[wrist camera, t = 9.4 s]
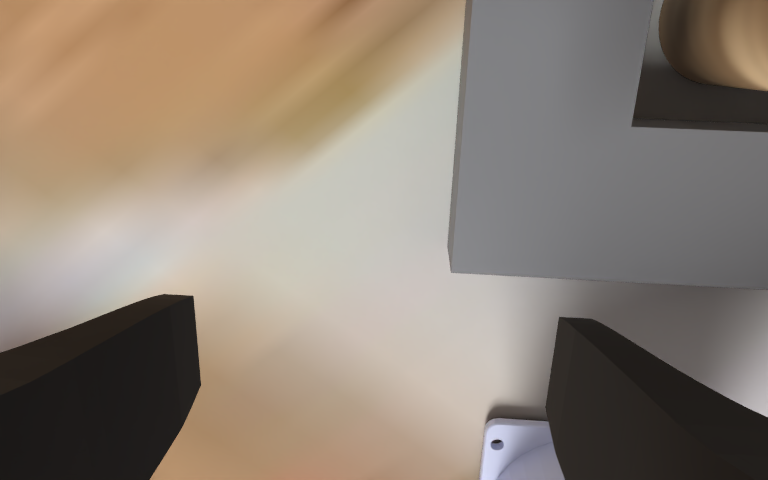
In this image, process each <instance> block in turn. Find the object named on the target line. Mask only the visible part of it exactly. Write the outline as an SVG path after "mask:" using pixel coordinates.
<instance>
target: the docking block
mask: <svg viewBox="0 0 768 480" xmlns="http://www.w3.org/2000/svg"><path fill="white" fill-rule="evenodd" d="M653 1H654V0H466V8H465V21H464V35H463V48H462V61H461V75H460V88H459V101H458V115H457V128H456V141H455V154H454V168H453V181H452V194H451V208H450V221H449V234H448V253H449V260H450V267H451V273H466V274H485V275H503V276H521V277H540V278H558V279H577V280H595V281H613V282H632V283H650V284H669V285H687V286H705V287H724V288H742V289H760V290H768V124H758V123H733V122H709V121H684V120H659V119H634V118H633V114H634V108H635V103H636V97H637V91H638V86H639V80H640V74H641V69H642V63H643V57H644V52H645V46H646V40H647V35H648V29H649V23H650V18H651V12H652V6H653Z"/></svg>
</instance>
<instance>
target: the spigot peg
mask: <svg viewBox="0 0 768 480" xmlns="http://www.w3.org/2000/svg"><path fill="white" fill-rule="evenodd" d="M659 38H660V43H661V47H662V50H663V53H664V55H665V57H666V58H667V60H668V62H669V63H670V64H671V66H672V67H673V68H674V69H675V70H676V71H677V72H678V73H680V74H681V75H682V76H684V77H686V78H688V79H690V80H692V81H695V82H698V83H702V84H708V85H717V86H726V87H735V88H744V89H753V90H762V91H768V0H664V2H663V6H662V9H661V13H660V18H659Z"/></svg>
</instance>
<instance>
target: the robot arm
mask: <svg viewBox="0 0 768 480" xmlns="http://www.w3.org/2000/svg"><path fill="white" fill-rule="evenodd" d="M200 386H201V380H200V368H199V356H198V345H197V333H196V321H195V310H194V298H193V296H185V295H168V294H163V295H158V296H154V297H150V298H147V299H144V300H141V301H138V302H136V303H133V304H130V305H128V306H125V307H122V308H120V309H117V310H115V311H112V312H110V313H107V314H104V315H102V316H99V317H97V318H94V319H92V320H89V321H87V322H84V323H82V324H79V325H77V326H74V327H72V328H69V329H66V330H63V331H61V332H58V333H55V334H52V335H50V336H47V337H44V338H41V339H39V340H36V341H33V342H30V343H28V344H25V345H22V346H19V347H17V348H14V349H11V350H8V351H5V352H2V353H0V480H149V479H150V478H151V476H152V475H153V473H154V472H155V470H156V468H157V467H158V465H159V464H160V462H161V461H162V459H163V457H164V456H165V454H166V453H167V451H168V449H169V448H170V446H171V445H172V443H173V441H174V440H175V438H176V437H177V435H178V433H179V432H180V430H181V428H182V426H183V424H184V422H185V420H186V418H187V416H188V414H189V411H190V409H191V407H192V405H193V402H194V400H195V398H196V395H197V393H198V391H199V388H200ZM546 412H547V417H548V421H534V420H519V419H504V418H495V419H492V420H490V421H488V422H487V423H486V426H485V430H484V439H483V448H482V457H481V466H480V475H479V480H768V417H765V416H763V415H761V414H759V413H757V412H755V411H752V410H750V409H748V408H746V407H744V406H742V405H740V404H738V403H736V402H734V401H732V400H730V399H729V398H727V397H725V396H723V395H721V394H719V393H718V392H716V391H714V390H712V389H710V388H708V387H707V386H705V385H703V384H701V383H699V382H698V381H696V380H694V379H692V378H691V377H689V376H687V375H685V374H684V373H682V372H680V371H679V370H677V369H675V368H674V367H672V366H670V365H669V364H667V363H665V362H664V361H662V360H660V359H659V358H657V357H656V356H654V355H652V354H651V353H649V352H647V351H646V350H644V349H643V348H641V347H639V346H638V345H636V344H635V343H633V342H632V341H630V340H628V339H627V338H625V337H624V336H622V335H620V334H619V333H617V332H615V331H614V330H612V329H610V328H609V327H607V326H605V325H603V324H601V323H599V322H597V321H595V320H593V319H584V318H566V317H559V322H558V329H557V335H556V342H555V349H554V355H553V362H552V368H551V375H550V382H549V388H548V395H547V401H546ZM496 439H499V440H502V441H501V442H500V443H497V444H494V443H492V441H493V440H496Z"/></svg>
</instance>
